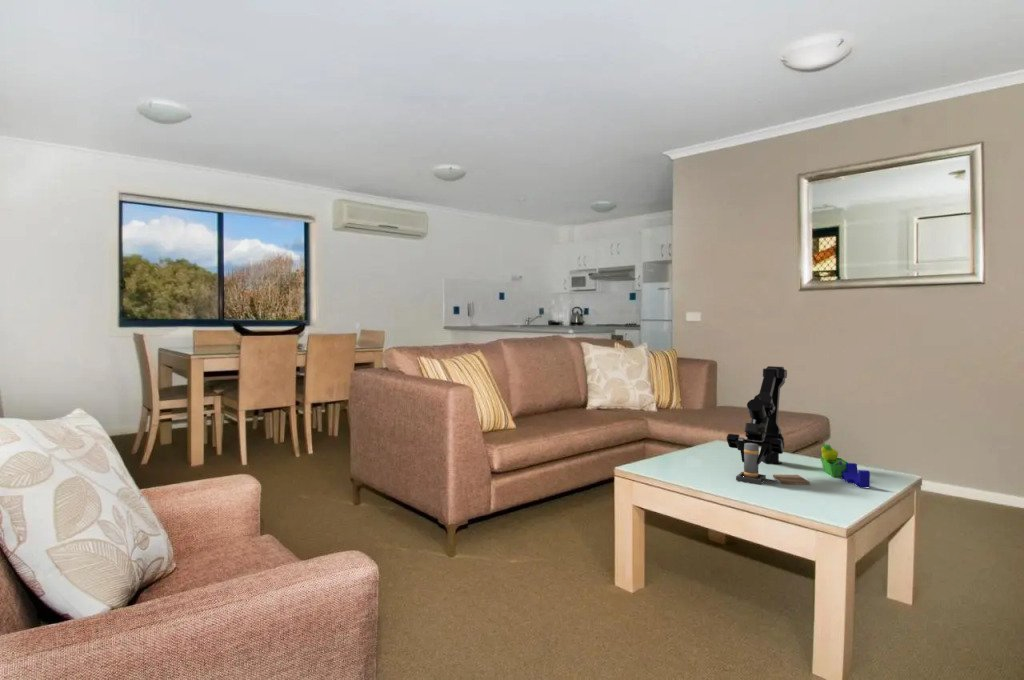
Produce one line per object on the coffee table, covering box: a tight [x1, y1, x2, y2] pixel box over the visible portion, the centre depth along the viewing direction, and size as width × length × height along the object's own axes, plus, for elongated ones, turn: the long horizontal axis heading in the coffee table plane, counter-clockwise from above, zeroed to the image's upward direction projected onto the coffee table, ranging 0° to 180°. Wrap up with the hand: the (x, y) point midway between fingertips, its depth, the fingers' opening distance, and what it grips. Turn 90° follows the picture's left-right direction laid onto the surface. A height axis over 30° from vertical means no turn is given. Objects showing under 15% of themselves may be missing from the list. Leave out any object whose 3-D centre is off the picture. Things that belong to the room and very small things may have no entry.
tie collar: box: [735, 471, 778, 485], centre depth 207 cm, size 8×13×2 cm, turn 54°
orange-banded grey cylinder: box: [743, 443, 760, 479], centre depth 209 cm, size 5×5×13 cm
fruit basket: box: [819, 444, 849, 478], centre depth 217 cm, size 11×9×11 cm
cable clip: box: [841, 462, 871, 488], centre depth 205 cm, size 12×4×6 cm, turn 170°
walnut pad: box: [772, 474, 810, 485], centre depth 208 cm, size 9×9×1 cm
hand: (750, 462), depth 207 cm, fingers closed on orange-banded grey cylinder, 5 cm apart
